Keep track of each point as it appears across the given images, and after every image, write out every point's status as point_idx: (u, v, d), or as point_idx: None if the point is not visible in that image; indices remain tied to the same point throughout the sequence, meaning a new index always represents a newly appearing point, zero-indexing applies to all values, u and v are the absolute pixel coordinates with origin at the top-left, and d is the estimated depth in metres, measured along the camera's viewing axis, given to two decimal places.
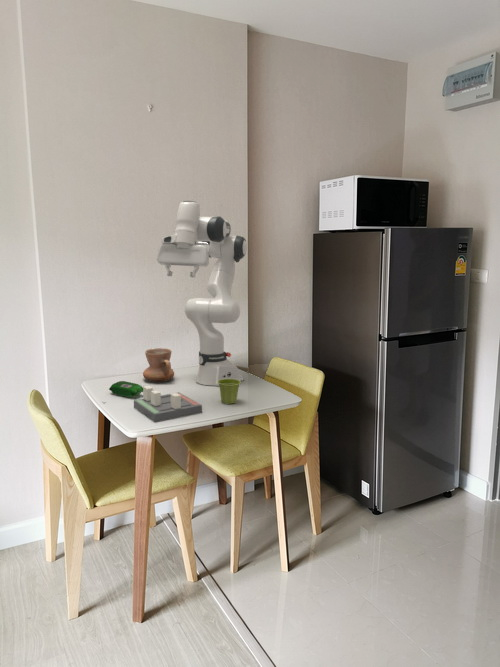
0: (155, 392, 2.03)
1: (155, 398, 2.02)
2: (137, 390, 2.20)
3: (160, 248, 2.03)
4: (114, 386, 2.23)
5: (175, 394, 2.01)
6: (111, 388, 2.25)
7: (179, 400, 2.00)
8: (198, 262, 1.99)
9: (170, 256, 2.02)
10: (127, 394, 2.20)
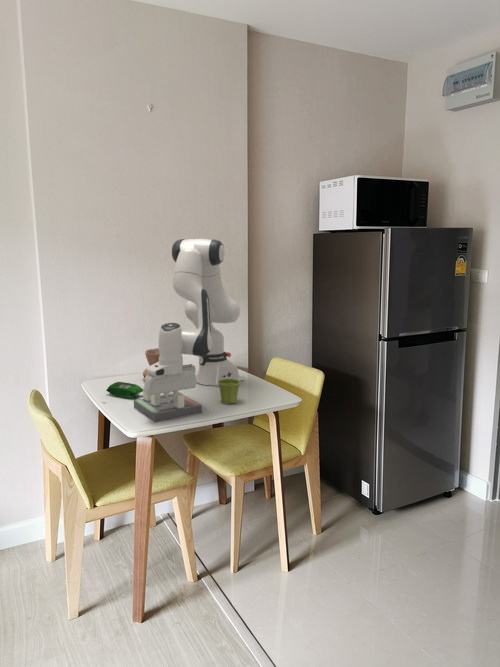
0: None
1: (155, 398, 2.02)
2: (136, 390, 2.20)
3: (151, 381, 1.91)
4: (112, 387, 2.22)
5: (178, 393, 2.01)
6: (109, 389, 2.23)
7: (182, 399, 2.01)
8: (190, 387, 2.02)
9: (162, 387, 1.95)
10: (126, 395, 2.19)
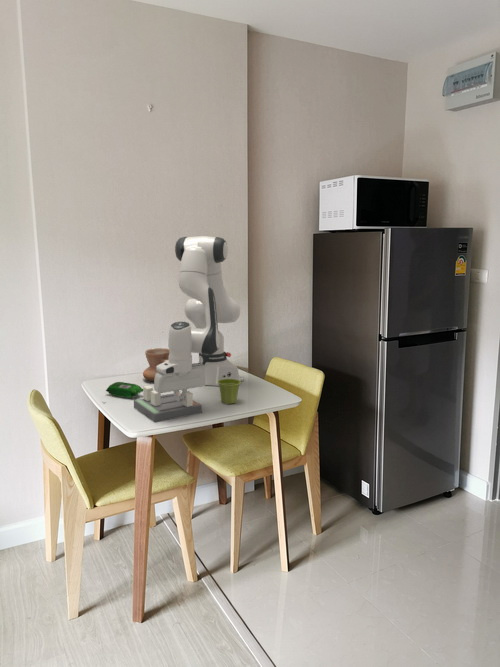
0: (155, 392, 2.03)
1: (155, 398, 2.02)
2: (136, 390, 2.20)
3: (161, 379, 1.93)
4: (112, 387, 2.22)
5: (187, 392, 2.04)
6: (108, 389, 2.23)
7: (191, 398, 2.03)
8: (199, 385, 2.04)
9: (171, 385, 1.97)
10: (126, 395, 2.19)
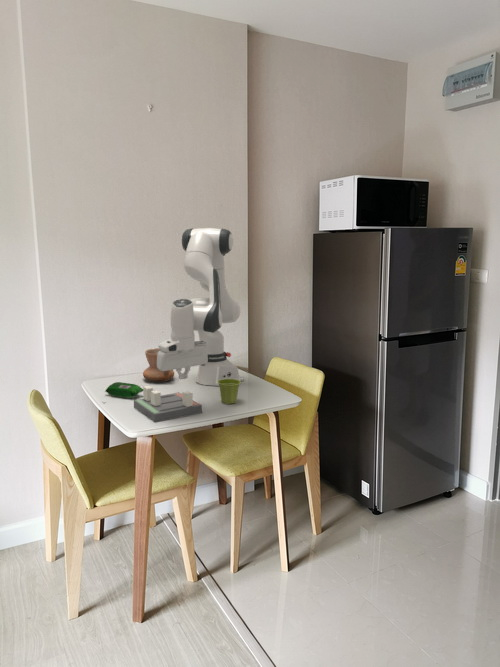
0: (155, 392, 2.03)
1: (155, 398, 2.02)
2: (136, 390, 2.20)
3: (164, 357, 1.92)
4: (111, 387, 2.21)
5: (187, 392, 2.04)
6: (108, 390, 2.22)
7: (191, 398, 2.03)
8: (201, 363, 2.03)
9: (174, 363, 1.96)
10: (126, 395, 2.19)
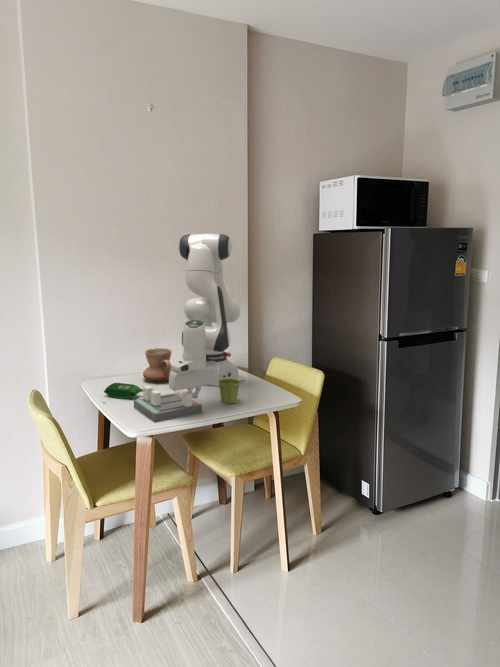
0: (155, 392, 2.03)
1: (155, 398, 2.02)
2: (136, 391, 2.20)
3: (176, 377, 1.96)
4: (110, 388, 2.20)
5: (186, 392, 2.03)
6: (107, 390, 2.21)
7: (190, 398, 2.02)
8: (212, 383, 2.07)
9: (186, 382, 2.00)
10: (126, 395, 2.18)
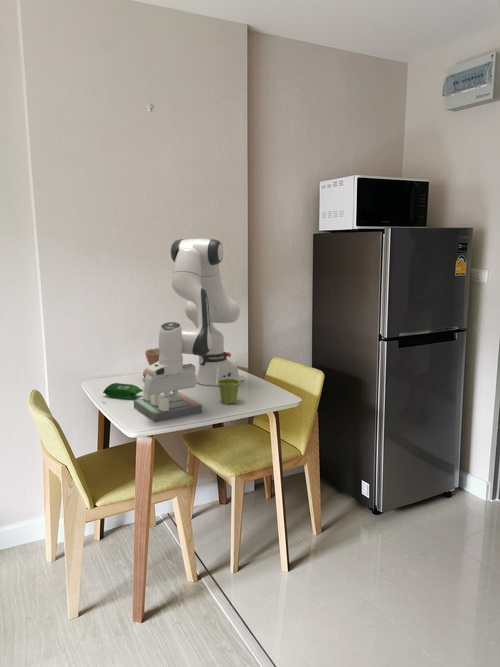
0: None
1: (155, 398, 2.02)
2: (136, 391, 2.20)
3: (151, 381, 1.91)
4: (110, 389, 2.20)
5: (163, 396, 1.98)
6: (106, 391, 2.21)
7: (167, 402, 1.97)
8: (189, 386, 2.01)
9: (162, 386, 1.94)
10: (126, 395, 2.18)
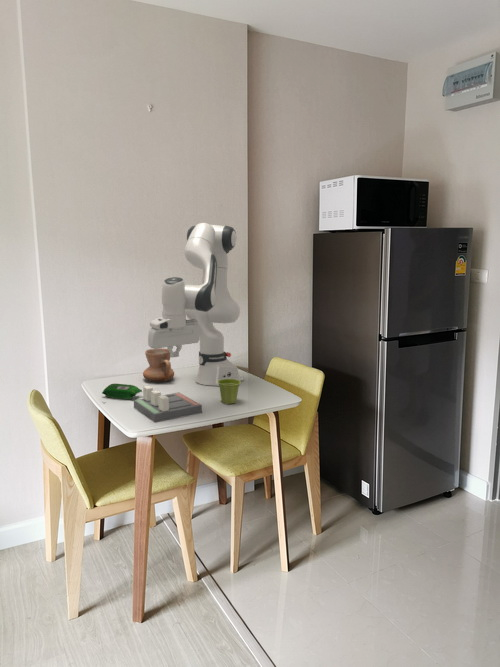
0: (155, 392, 2.03)
1: (155, 398, 2.02)
2: (135, 391, 2.19)
3: (155, 334, 1.93)
4: (109, 389, 2.19)
5: (163, 396, 1.98)
6: (105, 391, 2.20)
7: (167, 402, 1.97)
8: (193, 341, 2.04)
9: (165, 340, 1.97)
10: (125, 396, 2.18)
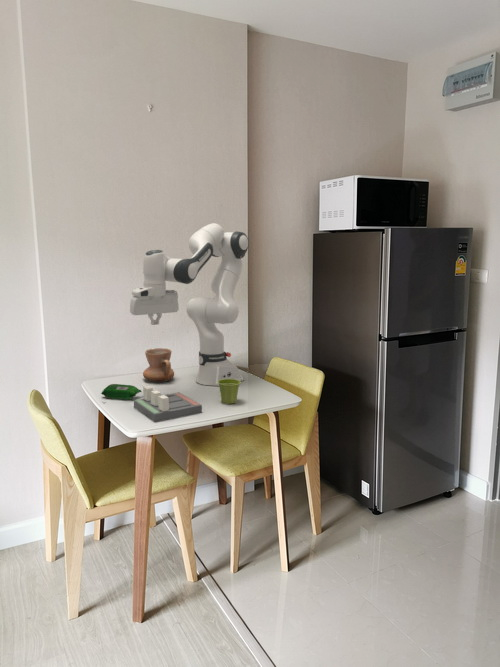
0: (155, 392, 2.03)
1: (155, 398, 2.02)
2: (135, 391, 2.19)
3: (136, 302, 2.08)
4: (108, 390, 2.18)
5: (163, 396, 1.98)
6: (104, 392, 2.19)
7: (167, 402, 1.97)
8: (172, 311, 2.18)
9: (146, 308, 2.11)
10: (125, 396, 2.17)
